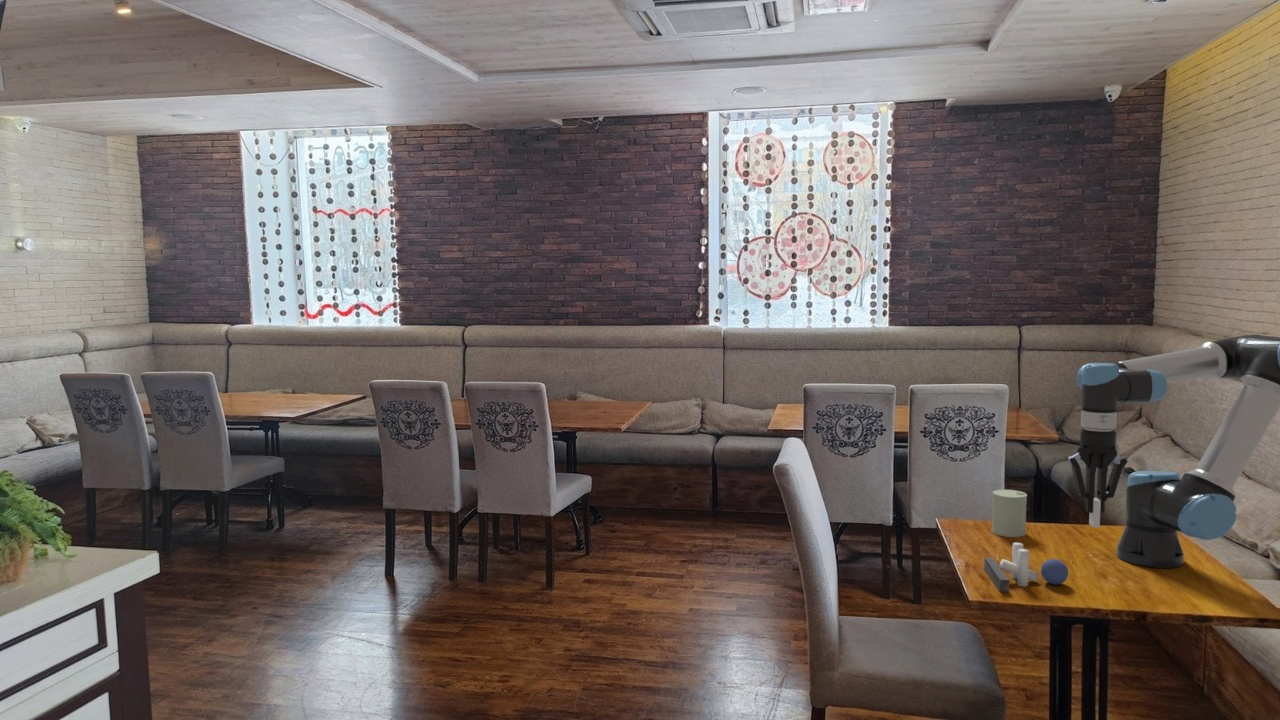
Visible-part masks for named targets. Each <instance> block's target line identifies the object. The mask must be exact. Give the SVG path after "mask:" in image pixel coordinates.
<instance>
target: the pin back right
mask: <svg viewBox="0 0 1280 720" xmlns="http://www.w3.org/2000/svg"><path fill="white" fill-rule="evenodd" d="M1019 549H1024V543H1021V542H1012V552H1011V553H1012V555H1011V558H1012V559H1011V562H1012V563H1014V564H1017V565H1018V550H1019ZM1011 579H1013V580H1017V575H1015V574H1013V573H1011Z"/></svg>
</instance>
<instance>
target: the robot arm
mask: <svg viewBox="0 0 1280 720" xmlns="http://www.w3.org/2000/svg"><path fill="white" fill-rule="evenodd" d="M1205 377H1206V378H1208V379H1211V380H1216V379H1223V378H1227V379H1237V380H1238V379H1240V380H1241V382H1242V385H1243V388H1242V389H1241V390H1240V392H1239V394H1238V396H1237V398H1236V400H1235V401H1234V402H1233V404H1232V406H1231V408H1230V410H1229V411H1228V413H1227V415H1226V416H1225V418H1224V419H1223V421H1222V423H1221V425H1220V426H1219V427H1218V430H1217V431H1216V433H1215V435H1214V437H1213V439H1212V440H1211V441H1210V443H1209V445H1208V447H1207V448H1206V450H1205V452H1204V454H1203V456H1202V457H1201V459H1200V460H1199V462H1198V463H1197V465H1196V467H1195V469H1193V470H1190V471H1185V472H1184V474H1183V475H1182V476H1181V477H1180V474H1179V473H1178V472H1174V471H1166V470H1165V471H1164V470H1140V471H1134V472H1132V473H1130V474H1129V475H1128V478H1127V484H1126V500H1125V502H1126V504H1125V525H1124V530H1123V531H1122V534H1121V535H1120V539H1119V540H1118V543H1117V545H1116V556H1117V557H1118V558H1119V559H1120V560H1123V561H1125V562H1127V563H1131V564H1134V565H1138V566H1143V567H1147V568H1159V569H1163V568H1164V569H1170V568H1171V569H1173V568H1179V567H1181V566H1182V565H1184V559H1185V555H1184V552H1183V551H1184V550H1183V547H1182V545H1181V542H1180V538H1179V536H1178V532H1180V533H1182V534H1184V535H1185V536H1188V537H1191V538H1196V539H1200V540H1204V541H1209V540H1211V541H1212V540H1215V539H1219V538H1221V537H1223V536H1225V535H1226V534H1228V532H1229V531H1230V530H1231V529H1232V528H1233V526H1234V524H1235V522H1236V520H1237V515H1238V514H1236V512H1237V507H1236V503H1235V502H1234V501H1235V499H1236V497H1237V495H1236V493H1235V490H1234V486H1235V484H1236V482H1237V481H1238V479H1239V477H1241V474H1242V473H1243V470H1244V469H1245V467H1246V466H1247V464H1248V462H1249V460H1250V459H1251V457H1252V455H1253V453H1254V452H1255V450H1256V448H1257V446H1258V445H1259V444H1260V442H1261V439H1263V436H1264V435H1265V433H1266V432H1267V430H1268V428H1269V426H1270V425H1271V423H1272V422H1273V420H1274V418H1275V416H1276V415H1277V413H1278V412H1279V409H1280V336H1275V335H1273V336H1270V335H1262V334H1261V335H1260V334H1245V335H1238V336H1232V337H1228V338H1223V339H1217V340H1212V341H1207V342H1204V343H1202V344H1201V345H1199V347H1196V348H1190V349H1183V350H1179V351H1178V350H1177V351H1173V352H1168V353H1162V354H1156V355H1149V356H1144V357H1138V358H1133V359H1127V360H1121V361H1117V362H1089V363H1085V364H1084V365H1083V366H1081V367H1080V368H1079V369H1078V371H1077V374H1076V383H1077V386H1078V387H1079V388H1080V389H1081V411H1080V412H1081V413H1080V427H1082V428H1081V429H1080V432H1079V434H1080V435H1079V436H1080V437H1079V447H1078V449H1077V453H1075V454H1073V455H1068V456H1067V459H1066V460H1067V461H1068V462H1069V464H1070V465H1071V469H1072V475H1073V478H1074V484H1075V487H1076V492H1077V494H1078V495H1079V496H1081V497H1082V498H1085V511H1086V513H1088V514H1089V515H1088V517H1089V519H1088V525H1089V526H1091V527H1092V528H1098V529H1099V528H1100V526H1101V524H1100V523H1101V514H1104V513H1105V511H1106V510H1105V507H1106V501H1107V500H1108V499H1112V498H1114V496H1115V494H1116V490H1117V487H1118V485H1119V481H1120V477H1121V475H1122V471H1123V468H1124V467H1125V466H1126V465H1127V464H1128V460H1127V459H1126V458H1125V457H1123V456H1120V455H1119V454H1118V451H1117V449H1116V446H1117V444H1116V443H1117V431H1116V430H1115V429H1116V428H1117V422H1118V421H1117V420H1118V418H1117V417H1118V407H1119V406H1118V404H1123V403H1124V404H1126V403H1127V404H1129V403H1146V404H1148V403H1153V402H1158V401H1161V400H1163V399H1164V397H1165V396H1166V394H1167V391H1168V384H1170V383H1171V384H1173V383H1178V382H1183V381H1188V380H1194V379H1195V380H1196V379H1200V378H1205ZM1081 460H1082V462H1083V463H1084V465H1085V470H1086V471H1085V483H1084V479H1083V474H1082V470H1081V465H1080V464H1081ZM1112 462H1113V465H1112V468H1111V472H1110V475H1109V478H1108V477H1107V476H1108V475H1107V473H1108V471H1109V466H1110V465H1111V463H1112ZM1096 472H1097V477H1096ZM1107 478H1108V479H1107ZM1096 479H1097V483H1096ZM1095 484H1096V486H1095ZM1095 487H1096V497H1095Z"/></svg>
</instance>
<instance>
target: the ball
mask: <svg viewBox="0 0 1280 720" xmlns="http://www.w3.org/2000/svg"><path fill="white" fill-rule="evenodd" d="M1040 574H1041V576H1042V578H1043V580H1044V581H1045V582H1047V583H1049V584H1050V585H1061V584H1063V583H1064V582H1066V581H1067V579H1068V577H1069V569H1068V567H1067V565H1066V564H1065V563H1064V562H1063V561H1062V560H1060V559H1057V558H1056V559H1055V558H1050V559H1048V560H1046V561H1044V562H1043V563H1042V565H1041V567H1040Z"/></svg>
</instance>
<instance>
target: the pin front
mask: <svg viewBox="0 0 1280 720" xmlns="http://www.w3.org/2000/svg"><path fill="white" fill-rule="evenodd" d="M999 567H1000V569H1001V570H1002V571H1005V572H1008V573H1010V574H1012V573H1013V574H1015V575H1017V572H1018V565H1017V564H1014V563H1012V561H1009V560H1007V559H1004V558H1003V559H1001V560H1000V563H999ZM1038 578H1039V572H1037V571H1034V570H1031V569H1028V581H1031V582H1032V583H1036V582H1037V579H1038Z"/></svg>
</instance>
